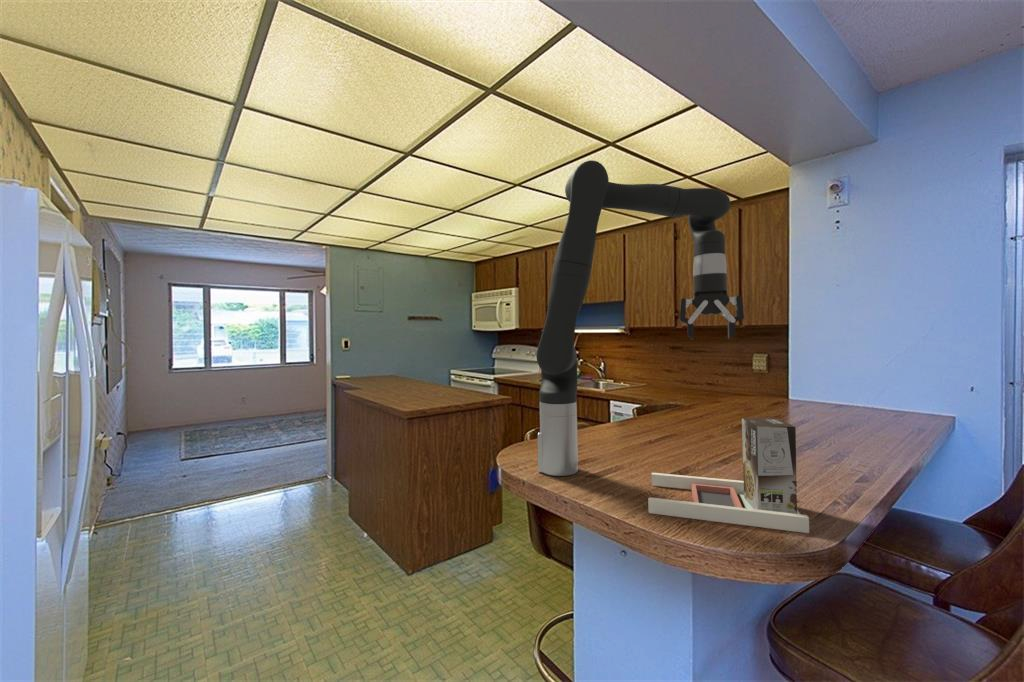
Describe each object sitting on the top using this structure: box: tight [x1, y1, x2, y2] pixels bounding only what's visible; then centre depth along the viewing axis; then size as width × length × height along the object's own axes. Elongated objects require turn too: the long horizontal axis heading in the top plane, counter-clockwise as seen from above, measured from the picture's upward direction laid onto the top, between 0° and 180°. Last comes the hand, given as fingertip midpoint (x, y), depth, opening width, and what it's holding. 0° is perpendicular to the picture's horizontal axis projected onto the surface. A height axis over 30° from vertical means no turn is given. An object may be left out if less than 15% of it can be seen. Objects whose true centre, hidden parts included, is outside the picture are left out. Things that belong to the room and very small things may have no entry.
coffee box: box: [741, 417, 798, 514], centre depth 76 cm, size 9×6×16 cm
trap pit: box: [691, 483, 743, 508], centre depth 79 cm, size 8×13×2 cm, turn 159°
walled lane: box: [647, 472, 810, 534], centre depth 79 cm, size 25×16×2 cm, turn 69°
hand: (711, 338), depth 102 cm, fingers open, 8 cm apart
